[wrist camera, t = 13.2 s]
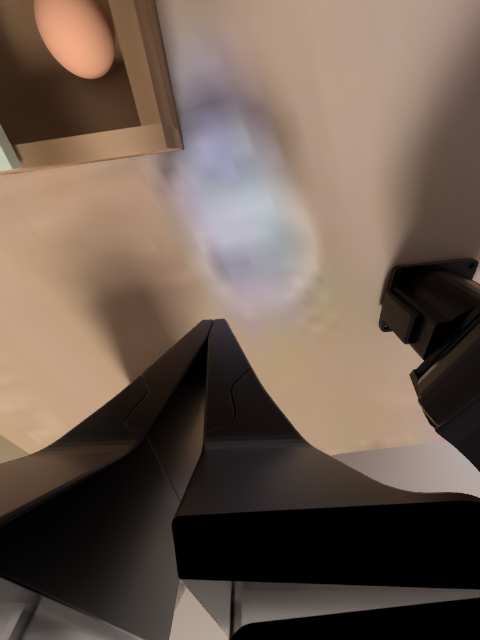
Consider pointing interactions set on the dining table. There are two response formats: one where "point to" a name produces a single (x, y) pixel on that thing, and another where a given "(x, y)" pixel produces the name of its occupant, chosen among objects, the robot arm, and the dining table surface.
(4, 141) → the lid
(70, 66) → the ball
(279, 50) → the dining table surface
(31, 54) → the box
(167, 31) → the dining table surface
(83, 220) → the dining table surface
